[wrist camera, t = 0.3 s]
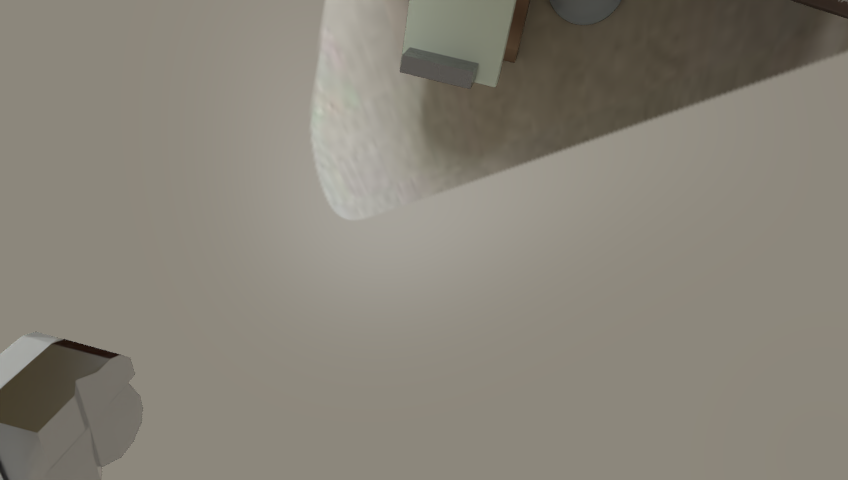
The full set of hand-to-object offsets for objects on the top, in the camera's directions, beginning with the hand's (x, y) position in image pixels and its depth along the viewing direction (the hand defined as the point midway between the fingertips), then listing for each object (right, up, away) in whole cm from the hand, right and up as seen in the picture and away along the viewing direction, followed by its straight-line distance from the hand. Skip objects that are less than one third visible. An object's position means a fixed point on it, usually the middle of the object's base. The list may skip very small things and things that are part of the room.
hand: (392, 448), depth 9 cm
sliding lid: (+3, +19, +35) cm, 40 cm away
